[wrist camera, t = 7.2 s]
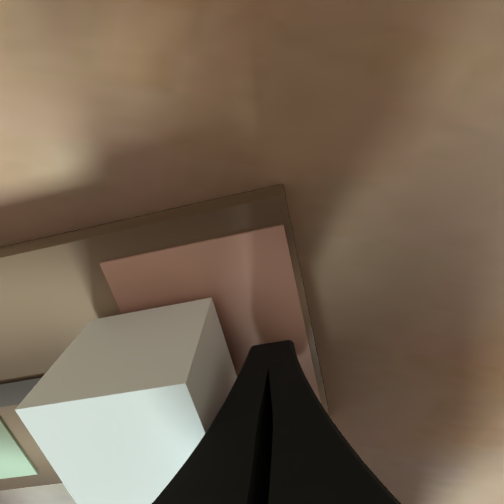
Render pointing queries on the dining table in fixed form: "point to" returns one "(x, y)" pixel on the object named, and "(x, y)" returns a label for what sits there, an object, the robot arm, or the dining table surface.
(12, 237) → the dining table surface
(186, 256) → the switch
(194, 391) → the white block
